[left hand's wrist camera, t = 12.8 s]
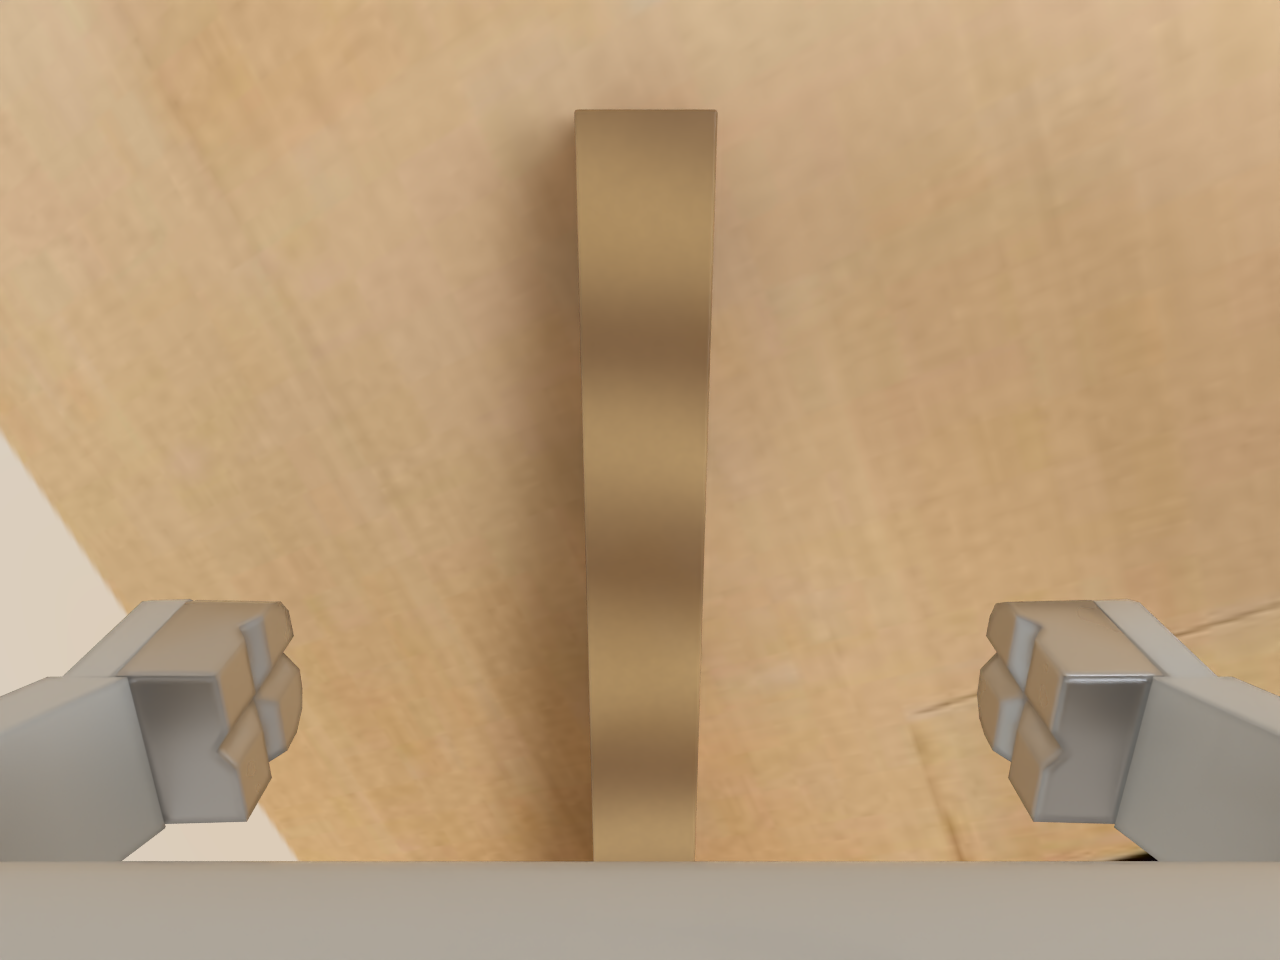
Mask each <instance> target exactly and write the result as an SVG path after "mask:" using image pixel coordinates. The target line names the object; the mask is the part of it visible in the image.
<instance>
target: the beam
mask: <svg viewBox="0 0 1280 960" xmlns="http://www.w3.org/2000/svg"><path fill="white" fill-rule="evenodd" d="M716 144H717V111H716V110H575V153H576V192H577V232H578V272H579V311H580V351H581V391H582V430H583V470H584V510H585V550H586V589H587V629H588V669H589V708H590V748H591V788H592V827H593V861H695V836H696V803H697V770H698V737H699V704H700V671H701V638H702V605H703V572H704V539H705V506H706V473H707V440H708V407H709V374H710V341H711V308H712V276H713V243H714V210H715V177H716Z"/></svg>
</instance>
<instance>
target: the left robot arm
mask: <svg viewBox="0 0 1280 960" xmlns="http://www.w3.org/2000/svg"><path fill="white" fill-rule="evenodd" d="M293 636H294V635H293V630H292V625H291V620H290V615H289V611H288V609H287V608H286V607H285V606H284V605H283V604H282V603H281V602H272V601H219V600H195V601H193V600H191V599H177V600H151V601H143V602H141V603H140V604H139V605H138V606H137V607H136V608H135V609H134V610H132V611H131V612H130V613H129V614H128V615H127V616H126V617H125V618H124V619H123V620H122V621H121V622H120V623H119V624H118V625H117V626H116V627H114V628H113V629H112V630H111V631H110V632H109V633H108V634H107V635H106V636H105V637H104V638H103V639H102V640H101V641H100V642H99V643H98V644H97V645H95V646H94V647H93V648H92V649H91V650H90V651H89V652H88V653H87V654H86V655H85V656H84V657H83V658H82V659H81V660H80V661H79V662H77V663H76V664H75V665H74V666H73V667H72V668H71V669H70V670H69V671H68V672H67V673H66V674H65V675H64V676H63V677H46V678H44V679H41V680H39V681H37V682H34V683H32V684H29V685H27V686H24V687H22V688H20V689H17V690H15V691H12V692H10V693H8V694H5V695H3V696H0V960H1280V697H1279V696H1277V695H1275V694H1272V693H1270V692H1267V691H1265V690H1263V689H1260V688H1258V687H1256V686H1253V685H1251V684H1248V683H1246V682H1244V681H1241V680H1239V679H1236V678H1234V677H1217V676H1216V675H1215V674H1214V673H1213V672H1212V671H1211V670H1210V669H1209V668H1208V667H1207V666H1206V665H1205V664H1204V663H1203V662H1202V661H1201V660H1200V659H1198V658H1197V657H1196V656H1195V655H1194V654H1193V653H1192V652H1191V651H1190V650H1189V649H1188V648H1187V647H1186V646H1185V645H1184V644H1183V643H1182V642H1181V641H1179V640H1178V639H1177V638H1176V637H1175V636H1174V635H1173V634H1172V633H1171V632H1170V631H1169V630H1168V629H1167V628H1166V627H1165V626H1164V625H1163V624H1162V623H1160V622H1159V621H1158V620H1157V619H1156V618H1155V617H1154V616H1153V615H1152V614H1151V613H1150V612H1149V611H1148V610H1147V609H1146V608H1145V607H1144V606H1143V605H1141V604H1140V603H1139V602H1136V601H1133V600H1130V599H1115V600H1074V601H1032V602H1004V603H997V604H995V606H994V609H993V611H992V613H991V615H990V618H989V624H988V629H987V634H986V636H987V638H988V639H989V641H990V642H991V644H992V646H993V647H994V649H995V650H996V652H997V653H996V654H995V655H994V656H993V657H992V658H991V659H990V660H989V661H988V662H987V663H986V664H985V665H984V666H983V667H982V668H981V670H980V677H979V685H978V692H977V697H978V709H979V719H980V722H981V725H982V728H983V732H984V735H985V737H986V739H987V740H988V742H989V744H990V746H991V748H992V750H993V751H995V752H996V753H998V754H999V755H1001V756H1002V757H1004V758H1006V759H1007V760H1009V761H1010V762H1011V766H1010V771H1009V777H1008V778H1009V780H1010V782H1011V784H1012V785H1013V787H1014V789H1015V790H1016V792H1017V794H1018V796H1019V797H1020V799H1021V801H1022V803H1023V804H1024V806H1025V808H1026V810H1027V811H1028V813H1029V815H1030V817H1031V818H1032V820H1033V822H1066V823H1103V824H1115V826H1114V827H1115V828H1116V829H1117V830H1118V831H1120V832H1121V833H1122V834H1124V835H1125V836H1126V837H1128V838H1129V839H1130V840H1132V841H1133V842H1134V843H1136V844H1137V845H1138V846H1140V847H1141V848H1142V849H1144V850H1145V851H1146V852H1148V853H1149V854H1150V855H1151V856H1153V857H1154V858H1155V859H1157V860H1158V861H122V860H124V859H125V858H126V857H127V856H129V855H130V854H131V853H133V852H134V851H135V850H137V849H138V848H139V847H141V846H142V845H143V844H145V843H146V842H147V841H149V840H150V839H151V838H153V837H154V836H155V835H157V834H158V833H159V832H161V831H162V830H163V829H164V828H165V824H177V823H213V822H246V821H247V820H248V819H249V817H250V815H251V813H252V812H253V810H254V808H255V806H256V805H257V803H258V801H259V799H260V798H261V796H262V794H263V792H264V791H265V789H266V787H267V785H268V784H269V782H270V780H271V778H272V777H271V771H270V766H269V762H270V761H271V760H273V759H274V758H276V757H278V756H279V755H281V754H282V753H284V752H285V751H287V750H288V748H289V746H290V744H291V742H292V740H293V738H294V737H295V735H296V733H297V729H298V724H299V720H300V716H301V711H302V683H301V676H300V670H299V668H298V667H297V666H296V665H295V664H294V663H293V662H292V661H291V660H290V659H289V658H288V657H287V656H286V655H285V654H284V653H283V652H284V650H285V649H286V647H287V646H288V644H289V642H290V641H291V639H292V638H293Z"/></svg>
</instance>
